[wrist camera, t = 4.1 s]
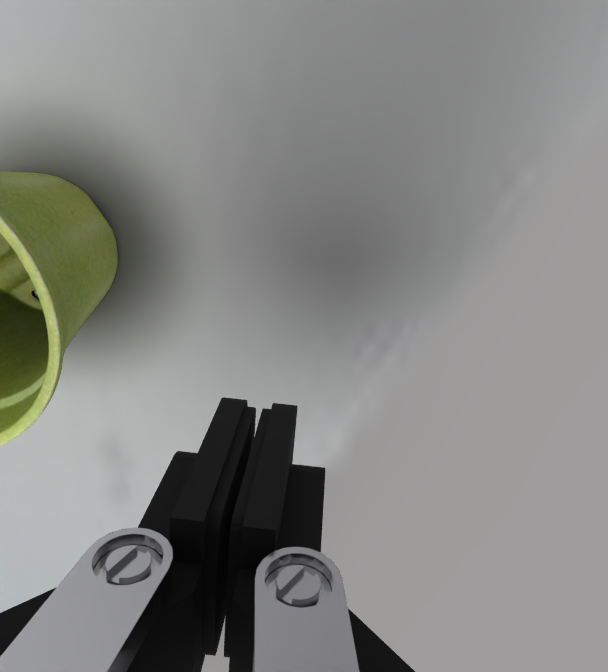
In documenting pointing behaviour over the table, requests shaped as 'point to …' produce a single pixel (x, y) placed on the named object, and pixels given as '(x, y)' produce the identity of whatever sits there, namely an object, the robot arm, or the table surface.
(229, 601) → the robot arm
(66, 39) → the table surface
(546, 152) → the table surface
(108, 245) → the plant pot
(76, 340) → the table surface
